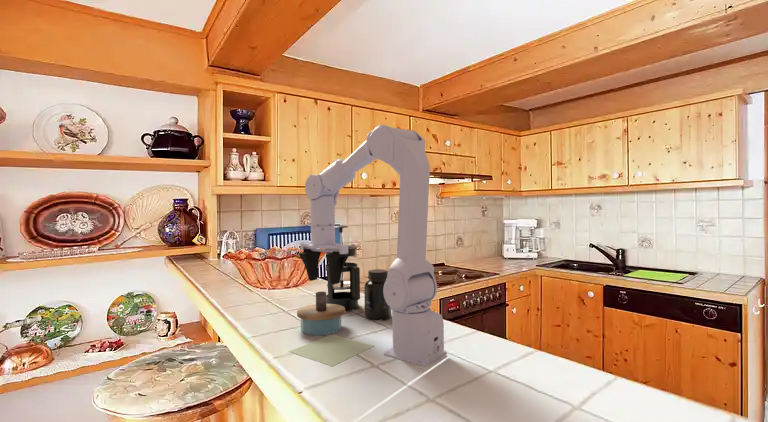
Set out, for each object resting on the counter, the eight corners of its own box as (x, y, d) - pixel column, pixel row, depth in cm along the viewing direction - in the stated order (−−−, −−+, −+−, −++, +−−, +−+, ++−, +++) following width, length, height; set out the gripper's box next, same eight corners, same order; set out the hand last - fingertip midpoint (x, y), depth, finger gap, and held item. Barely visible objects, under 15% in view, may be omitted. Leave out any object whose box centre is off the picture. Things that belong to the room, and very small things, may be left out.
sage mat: (374, 347, 79) (374, 345, 79) (332, 367, 69) (332, 366, 69) (332, 335, 86) (332, 334, 86) (288, 352, 77) (288, 351, 77)
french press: (316, 307, 110) (315, 226, 109) (341, 300, 117) (340, 224, 116) (345, 314, 102) (343, 227, 101) (370, 307, 109) (368, 225, 108)
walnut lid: (354, 310, 92) (354, 290, 92) (323, 323, 83) (322, 301, 82) (319, 304, 98) (319, 285, 98) (286, 315, 89) (286, 294, 88)
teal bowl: (348, 328, 92) (348, 311, 91) (322, 339, 84) (321, 321, 84) (320, 322, 97) (320, 306, 97) (293, 332, 89) (292, 315, 89)
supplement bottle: (359, 319, 98) (358, 272, 98) (373, 312, 104) (372, 267, 104) (383, 323, 95) (383, 273, 94) (396, 315, 101) (395, 269, 100)
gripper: (289, 225, 95) (291, 281, 95) (332, 227, 86) (333, 288, 86) (311, 224, 100) (312, 276, 101) (353, 225, 91) (354, 283, 92)
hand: (323, 281), depth 94 cm, fingers open, 7 cm apart
